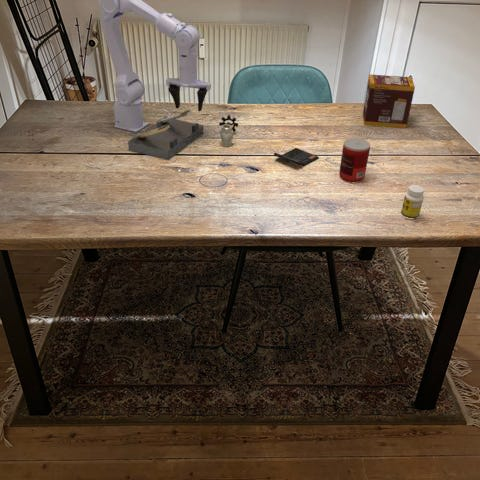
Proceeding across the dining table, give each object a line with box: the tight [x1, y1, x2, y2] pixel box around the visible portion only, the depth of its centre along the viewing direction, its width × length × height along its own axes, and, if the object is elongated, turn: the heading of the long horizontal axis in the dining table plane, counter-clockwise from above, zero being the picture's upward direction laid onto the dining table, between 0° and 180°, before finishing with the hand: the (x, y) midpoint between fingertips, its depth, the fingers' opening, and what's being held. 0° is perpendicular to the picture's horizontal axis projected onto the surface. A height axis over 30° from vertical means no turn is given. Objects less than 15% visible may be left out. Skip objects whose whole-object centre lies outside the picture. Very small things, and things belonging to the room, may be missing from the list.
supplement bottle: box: [400, 184, 425, 219], centre depth 141 cm, size 5×5×8 cm
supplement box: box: [362, 73, 416, 129], centre depth 193 cm, size 10×15×16 cm
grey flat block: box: [127, 115, 204, 161], centre depth 177 cm, size 15×23×5 cm, turn 155°
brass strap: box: [137, 124, 170, 138], centre depth 169 cm, size 12×3×1 cm, turn 65°
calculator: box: [273, 147, 320, 168], centre depth 169 cm, size 9×12×3 cm
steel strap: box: [160, 109, 193, 123], centre depth 180 cm, size 12×3×1 cm, turn 65°
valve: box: [218, 114, 239, 148], centre depth 179 cm, size 7×7×12 cm
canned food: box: [338, 137, 371, 183], centre depth 158 cm, size 8×8×11 cm
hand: (188, 108), depth 175 cm, fingers open, 7 cm apart
